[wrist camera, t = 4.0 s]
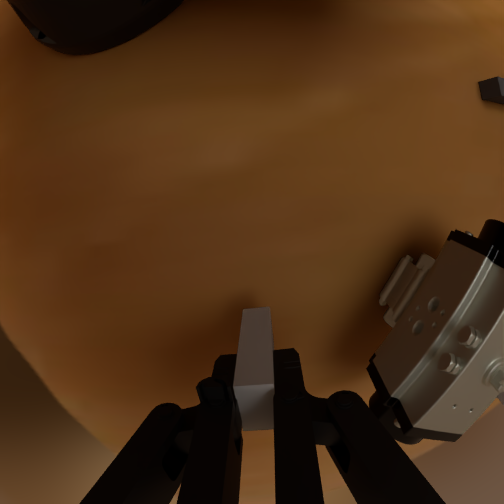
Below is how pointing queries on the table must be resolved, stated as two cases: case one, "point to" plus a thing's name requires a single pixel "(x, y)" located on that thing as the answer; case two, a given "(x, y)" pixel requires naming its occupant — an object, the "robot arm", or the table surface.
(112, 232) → the table surface
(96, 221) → the table surface
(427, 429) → the pneumatic valve
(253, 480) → the table surface
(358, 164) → the table surface
